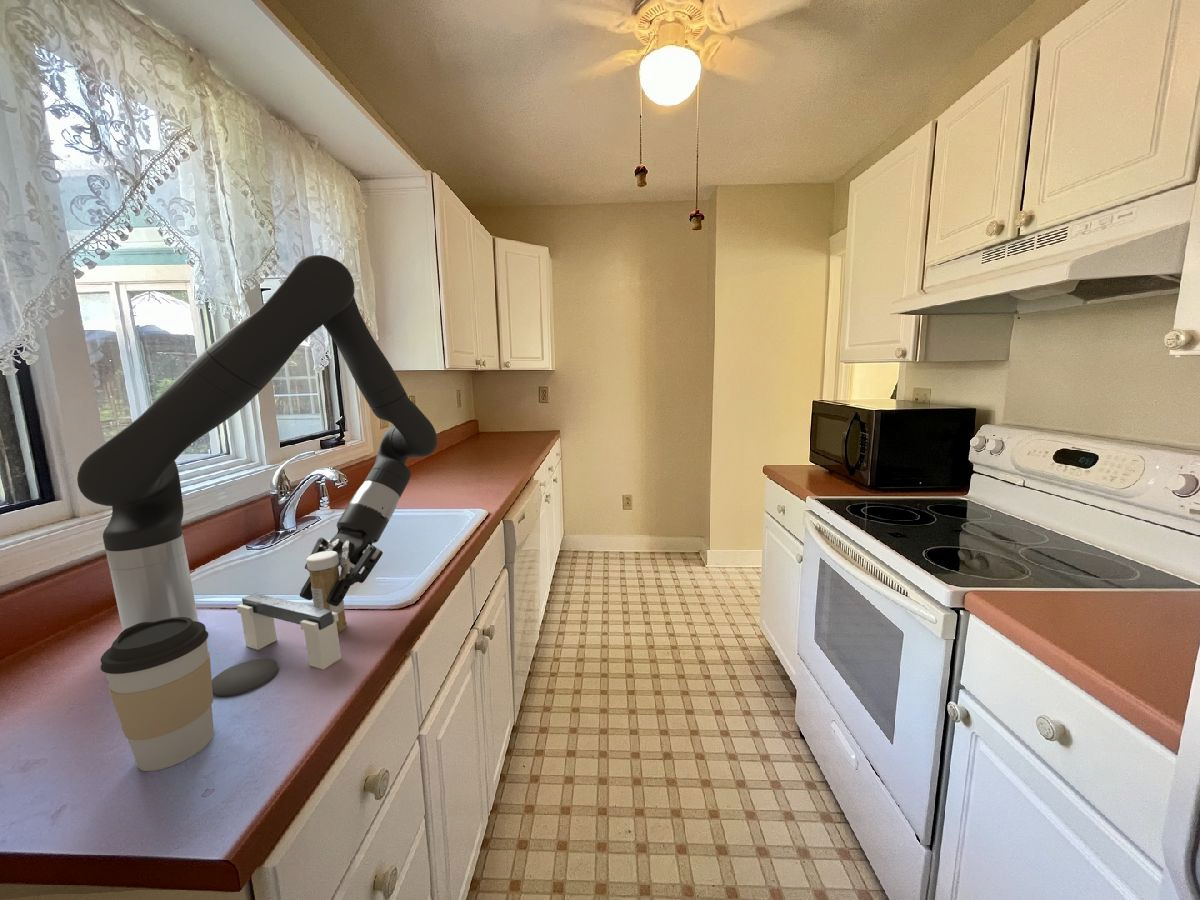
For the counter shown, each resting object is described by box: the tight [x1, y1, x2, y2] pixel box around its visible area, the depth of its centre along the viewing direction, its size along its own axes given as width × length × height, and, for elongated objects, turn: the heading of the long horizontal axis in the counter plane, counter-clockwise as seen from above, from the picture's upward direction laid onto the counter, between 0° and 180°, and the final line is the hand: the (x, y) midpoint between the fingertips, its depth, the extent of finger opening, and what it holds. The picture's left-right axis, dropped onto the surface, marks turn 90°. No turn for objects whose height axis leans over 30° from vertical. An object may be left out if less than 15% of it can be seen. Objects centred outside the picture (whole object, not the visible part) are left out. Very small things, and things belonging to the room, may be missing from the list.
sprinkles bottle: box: [306, 551, 348, 634], centre depth 81 cm, size 5×5×13 cm
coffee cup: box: [99, 617, 215, 772], centre depth 55 cm, size 9×9×15 cm
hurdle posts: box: [236, 603, 342, 670], centre depth 75 cm, size 18×4×7 cm, turn 67°
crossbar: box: [241, 592, 333, 630], centre depth 75 cm, size 18×2×2 cm, turn 67°
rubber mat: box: [212, 657, 279, 698], centre depth 69 cm, size 8×8×1 cm
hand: (318, 601), depth 79 cm, fingers open, 5 cm apart
